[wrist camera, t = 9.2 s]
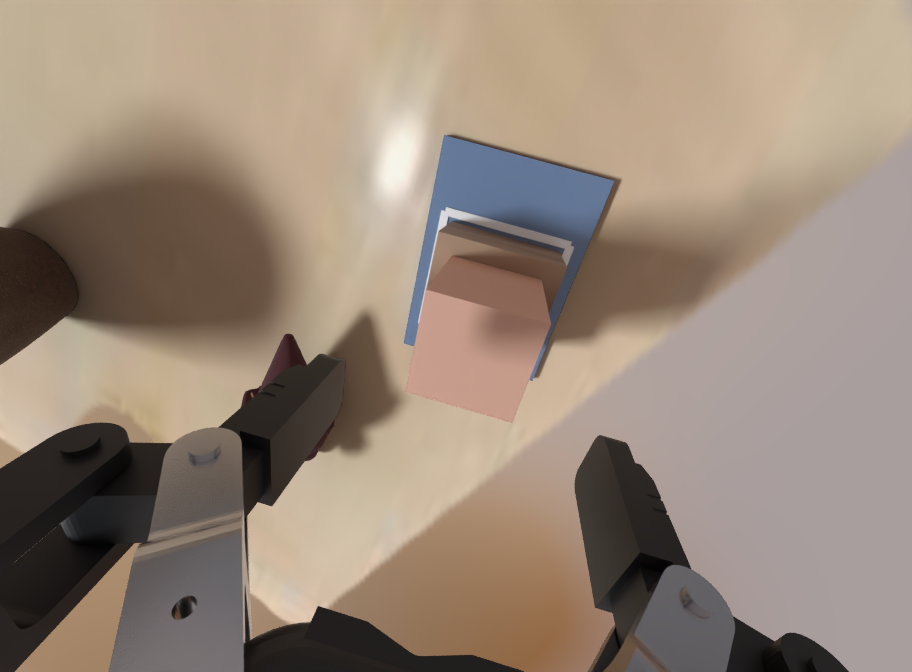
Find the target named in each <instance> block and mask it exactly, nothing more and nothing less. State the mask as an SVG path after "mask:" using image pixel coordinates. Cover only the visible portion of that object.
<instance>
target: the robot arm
mask: <svg viewBox="0 0 912 672" xmlns="http://www.w3.org/2000/svg"><path fill="white" fill-rule="evenodd" d="M345 369H346V362H345V361H344V360H342V359H338V358H335V357H331V356H328V355H325V354H319V355H318V356H317V357H316V358H315V359H313V360H312V361H311V362H310V363H309V364H308V365H307V366H303V365H300V364H298V365H296V366H293V367H291V368H289V369H286V370H284V371H282V372H281V373H280V374H279V375H277V376H276V377H275V378H274V379H273V380H272V381H271V382H270V384H267V385H266V386H265V387H264V388H263V389H262V390H260V393H257V394H256V395H255V396H254V397H252V398H251V399H250V400H249V401H248V402H247V403H246V404H245V405H243V406H242V407H241V408H240V409H239V410H238V411H237V412H235V413H234V414H233V415H232V416H231V417H230V418H229V419H228V420H226V421H225V422H224V423H223V424H222V425H221V426H220V427H218V428H205V429H200V430H197V431H193V432H191V433H188V434H186V435H184V436H183V437H181V438H179V439H178V440H176V441H175V442H174V443H130V442H129V438H128V435H127V432H126V430H125V429H124V428H122V427H121V426H119V425H116V424H112V423H91V424H85V425H80V426H76V427H73V428H70V429H67V430H64V431H62V432H60V433H57V434H55V435H53V436H52V437H50V438H48V439H46V440H45V441H43V442H42V443H40V444H39V445H37V446H35V447H34V448H32V449H31V450H29V451H27V452H26V453H24V454H23V455H21V456H20V457H18V458H16V459H15V460H13V461H12V462H10V463H8V464H7V465H5V466H4V467H2V468H1V469H0V672H15V671H16V670H17V668H18V667H19V666H20V665H21V664H22V663H23V662H24V661H25V660H26V659H27V658H28V657H29V656H30V654H31V653H32V652H33V651H34V650H35V649H36V648H37V647H38V646H39V645H40V643H42V642H43V641H44V640H45V638H46V637H47V636H48V635H49V634H50V633H51V632H52V631H53V630H54V629H55V628H56V627H57V625H59V623H60V622H61V621H62V620H63V619H64V618H65V617H66V616H67V615H68V614H69V613H70V612H71V610H73V608H74V607H75V606H76V605H77V604H78V603H79V602H80V601H81V600H82V599H83V598H84V597H85V596H86V595H87V593H88V592H89V591H90V590H91V589H92V588H93V587H94V586H95V585H96V584H97V583H98V582H99V581H100V580H101V578H102V577H103V576H104V575H105V574H106V573H107V572H108V571H109V570H110V569H111V568H112V567H113V566H114V565H115V563H116V562H117V561H118V560H119V559H120V558H121V557H122V556H123V555H124V554H125V553H126V552H127V551H128V550H129V548H130V547H131V546H132V545H133V544H134V543H141V544H140V545H139V546H138V548H137V549H136V552H135V555H134V558H133V562H132V566H131V571H130V576H129V580H128V585H127V589H126V594H125V599H124V603H123V608H122V613H121V617H120V622H119V626H118V631H117V635H116V640H115V645H114V649H113V654H112V659H111V663H110V668H109V672H524V671H521V670H518V669H515V668H511V667H509V666H505V665H502V664H499V663H496V662H493V661H490V660H487V659H483V658H480V657H477V656H474V655H452V656H417V655H414V654H412V653H410V652H409V651H408V650H406V649H405V648H403V647H402V646H401V645H399V644H398V643H396V642H395V641H394V640H392V639H391V638H389V637H388V636H387V635H385V634H384V633H383V632H381V631H380V630H378V629H377V628H376V627H374V626H373V625H371V624H370V623H369V622H367V621H363V620H361V619H357V618H354V617H351V616H348V615H345V614H342V613H338V612H335V611H332V610H329V609H326V608H323V607H320V606H318V607H317V609H316V612H315V614H314V616H313V618H312V621H311V622H307V623H297V624H291V625H286V626H283V627H279V628H276V629H273V630H271V631H268V632H266V633H264V634H261V635H259V636H257V637H255V638H253V639H252V629H251V607H250V584H249V548H248V517H247V515H248V514H249V513H250V511H251V510H252V509H253V508H254V506H255V505H256V504H257V502H259V503H263V504H266V505H269V506H273V504H274V503H275V502H276V500H277V499H278V497H279V496H280V495H281V493H282V492H283V490H284V489H285V488H286V486H287V485H288V483H289V482H290V481H291V479H292V478H293V477H294V475H295V474H296V472H297V471H298V470H299V468H300V467H301V465H302V464H303V463H304V461H305V460H306V458H307V457H308V456H309V454H310V453H311V451H312V450H313V449H314V447H315V446H316V444H317V443H318V442H319V440H320V439H321V437H322V436H323V435H324V433H325V432H326V430H327V429H328V428H329V426H330V425H331V424H332V422H333V421H334V419H335V418H336V416H337V414H338V412H339V410H340V407H341V404H342V399H343V390H344V380H345ZM575 494H576V500H577V505H578V511H579V517H580V523H581V529H582V534H583V540H584V546H585V552H586V558H587V564H588V569H589V575H590V581H591V587H592V593H593V598H594V604H595V608H598V609H601V610H605V611H608V612H612V613H613V616H614V621H615V625H614V626H613V627H612V628H611V630H610V631H609V633H608V635H607V637H606V639H605V640H604V642H603V644H602V646H601V648H600V650H599V652H598V654H597V655H596V657H595V659H594V661H593V663H592V664H591V666H590V668H589V670H588V672H849V671H848V670H847V669H846V668H845V667H844V666H843V665H842V664H841V663H840V662H839V661H838V660H837V659H836V658H835V657H834V656H833V655H832V654H830V653H829V652H828V651H827V650H826V649H824V648H823V647H822V646H820V645H819V644H817V643H816V642H814V641H813V640H811V639H809V638H807V637H805V636H803V635H800V634H797V633H786V634H785V635H783V636H782V637H781V638H779V639H778V640H776V641H773V640H771V639H770V638H768V637H766V636H765V635H763V634H761V633H760V632H758V631H756V630H755V629H753V628H751V627H750V626H748V625H746V624H745V623H743V622H741V621H740V620H738V619H737V618H735V617H733V615H732V613H731V611H730V609H729V607H728V605H727V603H726V602H725V600H724V599H723V597H722V596H721V595H720V593H719V592H718V591H717V590H716V589H715V588H714V587H713V586H712V584H710V583H709V582H708V581H707V580H706V579H705V578H704V577H702V576H701V575H700V574H698V573H696V572H695V571H693V570H691V567H690V565H689V562H688V560H687V558H686V555H685V553H684V551H683V548H682V546H681V544H680V541H679V539H678V537H677V534H676V532H675V529H674V527H673V525H672V522H671V520H670V518H669V515H667V514H666V513H667V511H666V508H665V506H664V504H663V501H661V497H660V494H659V492H658V490H657V487H656V485H655V483H654V481H653V480H652V478H651V477H650V476H649V474H648V473H647V472H646V471H645V469H644V468H643V467H642V466H641V465H640V464H636V463H635V462H634V459H633V456H632V454H631V451H630V449H629V446H628V445H627V443H625V442H622V441H619V440H615V439H612V438H608V437H605V436H601V435H599V436H598V437H597V438H596V439H595V440H594V442H593V444H592V446H591V447H590V449H589V451H588V453H587V454H586V456H585V458H584V460H583V462H582V464H581V465H580V467H579V469H578V471H577V474H576V478H575ZM55 527H56V528H55ZM54 528H55V529H54ZM49 532H50V533H49ZM48 533H49V534H48ZM42 538H43V539H42ZM41 539H42V540H41ZM36 543H37V544H36ZM35 544H36V545H35ZM29 549H30V550H29ZM28 550H29V551H28ZM23 554H24V555H23ZM22 555H23V556H22ZM17 559H18V560H17ZM16 560H17V561H16ZM15 561H16V562H15Z"/></svg>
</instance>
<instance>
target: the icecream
mask: <svg viewBox="0 0 912 672" xmlns="http://www.w3.org/2000/svg"><path fill="white" fill-rule="evenodd" d="M298 364H300V365H303V366H307V364H306V362H305V360H304V358H303V356H302V353H301V351H300V349H299V347H298V345H297V342H296V340H295V338H294V337H293V335H292V334H285V335H284V337H283V339H282V341H281V343H280V345H279V347H278V349H277V352H276V354H275V356H274V358H273V361H272V363H271V365H270V367H269V370H268V372H267V374H266V376H265V378H264V381H263V383H262V385H261V386H260V387H259V388H257V389H251V390H248V391H246V392H245V394H244V396H243V400H242V405H241V407H242V406H243V405H245V404H246V403H247V402H248V401H249V400H250V399H251V398H252V397H254V396H255V395H256V394H257V393H260V390H262V389H263V388H264V387H265V386H266V385H267V384H270V382H271V381H272V380H273V379H274V378H275V377H276V376H277V375H279V374H280V373H281V372H282V371H284V370H286V369H289V368H291V367H293V366H296V365H298ZM333 426H334V421H333V422H332V424H331V425H330V426H329V428H328V429H327V430H326V432H325V433H324V435H323V436H322V437H321V439H320V440H319V442H318V443H317V444H316V446H315V447H314V449H313V450H312V451H311V453H310V454H309V456H308V457H307V458H306V460H305V461H309V460H311V459H313V458H314V457H315V456H316V454H317V452H318V449H319V448H320V447H321V446H322V444H323V442H324V441H325V439H326V437H327V435H328V434H329V432H330V430H331V428H332V427H333Z"/></svg>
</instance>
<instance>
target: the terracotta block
mask: <svg viewBox="0 0 912 672" xmlns="http://www.w3.org/2000/svg"><path fill="white" fill-rule="evenodd" d="M550 326H551V322H550V317H549V312H548V307H547V303H546V298H545V293H544V288H543V283H542V280H540V279H536V278H532V277H529V276H525V275H521V274H518V273H514V272H510V271H507V270H503V269H499V268H496V267H492V266H488V265H485V264H481V263H477V262H474V261H470V260H466V259H463V258H459V257H455V256H451V257H450V259H449V260H448V261H447V263H446V264H445V265H444V266H443V268H442V269H441V270H440V272H439V273H438V274H437V276H436V277H435V278H434V279H433V281H432V282H431V283H430V285H429V286H428V287H427V288H426V290H425V295H424V300H423V305H422V310H421V315H420V320H419V325H418V330H417V335H416V340H415V345H414V350H413V355H412V360H411V365H410V370H409V375H408V380H407V385H406V390H405V392H408V393H411V394H415V395H418V396H422V397H425V398H429V399H432V400H435V401H439V402H442V403H446V404H449V405H453V406H456V407H460V408H463V409H466V410H470V411H473V412H477V413H480V414H484V415H487V416H490V417H494V418H497V419H501V420H504V421H508V422H511V423H512V422H513V420H514V417H515V415H516V412H517V410H518V407H519V405H520V402H521V399H522V397H523V394H524V392H525V389H526V387H527V384H528V382H529V379H530V377H531V374H532V371H533V369H534V366H535V364H536V361H537V359H538V356H539V354H540V351H541V349H542V346H543V343H544V341H545V338H546V336H547V333H548V331H549V328H550Z"/></svg>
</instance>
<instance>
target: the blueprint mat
mask: <svg viewBox="0 0 912 672" xmlns="http://www.w3.org/2000/svg"><path fill="white" fill-rule="evenodd" d="M613 183H614V181H613V180H609V179H606V178H602V177H598V176H594V175H591V174H587V173H583V172H580V171H576V170H572V169H568V168H565V167H561V166H557V165H554V164H550V163H546V162H542V161H539V160H535V159H531V158H528V157H524V156H520V155H516V154H513V153H509V152H505V151H501V150H498V149H494V148H490V147H487V146H483V145H479V144H475V143H472V142H468V141H464V140H461V139H457V138H453V137H449V136H446V135H444V138H443V144H442V149H441V154H440V159H439V164H438V169H437V174H436V180H435V185H434V190H433V195H432V200H431V205H430V210H429V216H428V221H427V226H426V231H425V236H424V241H423V246H422V252H421V257H420V262H419V267H418V272H417V277H416V282H415V288H414V293H413V298H412V303H411V308H410V313H409V318H408V324H407V329H406V334H405V339H404V343H405V344H408V345H411V346H414V345H415V340H416V335H417V330H418V325H419V320H420V315H421V310H422V305H423V300H424V295H425V290H426V288H427V283H428V279H429V274H430V269H431V264H432V260H433V255H434V250H435V245H436V241H437V236H438V231H440V230H441V229H442V228H443V227H445V226H446V225H447V224H449V223H450V222H451V221H452V222H456V223H459V224H463V225H467V226H470V227H474V228H477V229H481V230H485V231H488V232H492V233H495V234H499V235H503V236H506V237H510V238H513V239H517V240H520V241H524V242H528V243H531V244H535V245H538V246H542V247H546V248H549V249H553V250H556V251H559V252H560V254H561V256H562V258H563V260H564V262H565V264H566V266H567V269H566V272H565V275H564V277H563V280H562V282H561V285H560V287H559V290H558V292H557V295H556V297H555V300H554V302H553V305H552V307H551V310H550V312H549V317H550V322H551V326H550V328H549V331H548V333H547V336H546V338H545V341H544V343H543V346H542V349H541V351H540V354H539V356H538V359H537V361H536V364H535V366H534V369H533V371H532V374H531V377H530V379H529V380H531V381H532V380H533V378H534V375H535V373H536V371H537V368H538V366H539V363H540V361H541V358H542V356H543V354H544V351H545V349H546V346H547V344H548V341H549V339H550V337H551V334H552V332H553V329H554V327H555V324H556V322H557V319H558V317H559V315H560V312H561V310H562V307H563V305H564V302H565V300H566V298H567V295H568V293H569V290H570V288H571V285H572V283H573V281H574V278H575V276H576V273H577V271H578V268H579V266H580V264H581V261H582V259H583V256H584V254H585V251H586V249H587V247H588V244H589V242H590V239H591V237H592V234H593V232H594V230H595V227H596V225H597V222H598V220H599V217H600V215H601V213H602V210H603V208H604V205H605V203H606V200H607V198H608V196H609V193H610V191H611V188H612V186H613Z"/></svg>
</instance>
